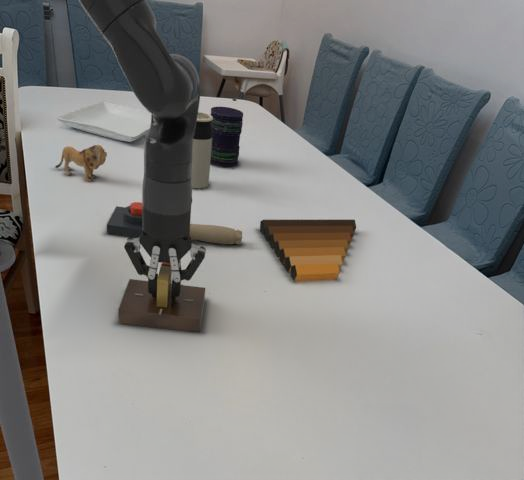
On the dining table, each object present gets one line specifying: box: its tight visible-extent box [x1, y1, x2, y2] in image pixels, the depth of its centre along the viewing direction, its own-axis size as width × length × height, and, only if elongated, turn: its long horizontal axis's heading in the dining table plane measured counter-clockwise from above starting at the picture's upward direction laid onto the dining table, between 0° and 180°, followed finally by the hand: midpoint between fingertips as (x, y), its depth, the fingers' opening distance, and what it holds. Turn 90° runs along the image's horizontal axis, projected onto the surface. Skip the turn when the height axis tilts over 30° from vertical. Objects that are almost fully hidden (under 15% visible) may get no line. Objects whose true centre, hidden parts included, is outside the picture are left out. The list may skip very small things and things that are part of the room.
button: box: [129, 201, 142, 215], centre depth 111 cm, size 4×4×2 cm
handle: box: [190, 223, 243, 245], centre depth 112 cm, size 5×6×15 cm
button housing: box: [106, 205, 142, 238], centre depth 113 cm, size 12×10×4 cm
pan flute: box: [259, 219, 357, 282], centre depth 117 cm, size 25×3×25 cm
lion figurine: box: [54, 144, 108, 182], centre depth 129 cm, size 15×5×9 cm, turn 77°
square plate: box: [56, 101, 151, 143], centre depth 165 cm, size 27×27×4 cm
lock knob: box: [157, 262, 173, 308], centre depth 86 cm, size 6×2×6 cm, turn 1°
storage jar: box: [210, 98, 244, 169], centre depth 151 cm, size 10×10×18 cm
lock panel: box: [117, 278, 206, 333], centre depth 89 cm, size 14×10×3 cm
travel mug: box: [191, 111, 213, 189], centre depth 133 cm, size 8×8×18 cm
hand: (164, 295), depth 88 cm, fingers closed
